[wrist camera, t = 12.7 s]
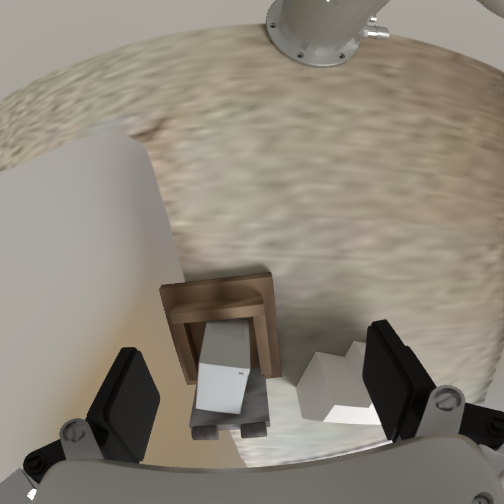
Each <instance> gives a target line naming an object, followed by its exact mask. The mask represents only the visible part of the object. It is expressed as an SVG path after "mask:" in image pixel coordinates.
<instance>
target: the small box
mask: <svg viewBox="0 0 504 504" xmlns="http://www.w3.org/2000/svg"><path fill="white" fill-rule="evenodd" d="M249 372H250V345H249V324H248V320H244V319H236V318H233V319H223V320H213V321H207V323H206V328H205V333H204V338H203V343H202V348H201V353H200V358H199V364H198V376H197V389H196V405H195V408H197V409H202V410H209V411H216V412H224V413H233V414H240V413H241V406H242V401H243V397H244V392H245V388H246V383H247V379H248V375H249Z"/></svg>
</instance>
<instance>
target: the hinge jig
mask: <svg viewBox="0 0 504 504" xmlns="http://www.w3.org/2000/svg"><path fill="white" fill-rule="evenodd" d="M159 291H160V295H161V299H162V303H163V307H164V310H165V314H166V318H167V321H168V325H169V328H170V332H171V335H172V339H173V342H174V345H175V348H176V352H177V355H178V358H179V361H180V364H181V367H182V371H183V374H184V377H185V380H186V382H187V385H192V384H197V376H198V364H199V358H200V353H201V348H202V343H203V338H204V333H205V328H206V323H207V321H213V320H223V319H233V318H236V319H244V320H248V324H249V345H250V372H249V375H248V379H247V383H246V388H245V392H244V397H243V401H242V406H241V413H240V414H233V413H224V412H216V411H209V410H202V409H197V408H195V405H196V391H195V397H194V402H193V407H192V413H191V418H190V424H189V426H190V428H191V433H192V438H193V440H218V438H219V437H218V436H219V435H218V434H219V433H218V430H237V429H240V430H241V437H242V438H254V437H265V436H267V429H266V427H270V418H269V409H268V399H267V389H266V379H268V378H276V377H282V374H281V362H280V351H279V341H278V330H277V320H276V310H275V300H274V290H273V280H272V274H271V272H270V273H262V274H254V275H245V276H237V277H229V278H220V279H211V280H203V281H194V282H185V283H175V284H166V285H162V286H161V287H160V289H159ZM196 389H197V386H196Z"/></svg>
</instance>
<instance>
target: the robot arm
mask: <svg viewBox="0 0 504 504" xmlns="http://www.w3.org/2000/svg"><path fill="white" fill-rule="evenodd" d="M389 1H390V0H276V1H275V2H274V3H273V4H272V5H271V7H270V9H269V10H268V13H267V17H266V30H267V33H268V36H269V38H270V40H271V41H272V43H273V44H274V46H275V47H276V48H277V49H278V50H279V51H280V52H281V53H283V54H284V55H285V56H286V57H288V58H290V59H292V60H293V61H295V62H298V63H300V64H303V65H307V66H311V67H320V68H324V67H333V66H336V65H339V64H342V63H344V62H346V61H347V60H348V59H349V58H351V57H352V56H353V54H354V53H355V52H356V50H357V49H358V47H359V43H360V39H367V37H371V38H375V39H382V40H387V39H388V38H389V31H388V29H387V28H385V27H379V26H368V25H367V22H375V21H376V13H378V12H379V11H380V10H381V9H382V8H383V7H384V6H385V5H386V4H387V3H388V2H389ZM477 1H478V2H479V3H481V4H482V5H483V6H484V7H486V8H487V9H489V10H490V11H491V12H493V13H494V14H496V15H498V16H500V17H502V18H504V0H477ZM271 27H274V28H271ZM297 56H300V57H301V58H299V57H297ZM339 56H340V57H341V58H342V59H341V58H340V57H339ZM362 378H363V382H364V384H365V387H366V389H367V391H368V394H369V396H370V398H371V401H372V403H373V405H374V408H375V410H376V413H377V415H378V417H379V420H380V422H381V425H382V427H383V430H384V432H385V435H386V437H387V439H388V440H392V442H393V443H390V444H387V445H383V446H380V447H376V448H372V449H368V450H364V451H360V452H355V453H351V454H346V455H342V456H337V457H332V458H326V459H321V460H315V461H309V462H302V463H294V464H286V465H277V466H266V467H252V468H226V469H207V468H205V469H203V468H179V467H165V466H154V465H145V464H139V462H140V461H142V460H143V459H144V455H145V451H146V448H147V444H148V441H149V437H150V434H151V430H152V427H153V423H154V420H155V416H156V413H157V409H158V406H159V403H160V395H159V392H158V390H157V388H156V386H155V384H154V381H153V379H152V377H151V375H150V372H149V370H148V367H147V365H146V363H145V360H144V358H143V356H142V354H141V352H140V351H138V350H137V349H136V348H135V347H123V348H122V349H121V350H120V352H119V354H118V356H117V357H116V359H115V361H114V363H113V365H112V367H111V368H110V371H109V372H108V374H107V376H106V378H105V380H104V382H103V384H102V386H101V387H100V390H99V392H98V393H97V395H96V398H95V399H94V401H93V403H92V405H91V407H90V409H89V411H88V413H87V417H86V419H85V420H84V419H80V418H75V419H72V420H69V421H68V422H66V423H65V424H64V425H63V426H62V428H61V429H60V433H59V435H60V439H59V440H57V441H55V442H52V443H50V444H48V445H46V446H44V447H42V448H40V449H37V450H35V451H33V452H31V453H29V454H28V455H27V456H26V458H25V460H24V463H23V467H24V469H23V470H21V469H20V468H19V469H17V470H16V471H15V472H14V473H13V474H11V475H10V476H9V477H8V478H7V479H5V480H4V481H3V482H1V483H0V504H504V412H502V411H498V410H493V409H489V408H485V407H481V406H477V405H473V404H469V403H465V397H464V394H463V393H462V391H461V390H460V389H458V388H457V387H454V386H451V385H443V386H439V387H436V385H435V384H434V382H433V381H432V379H431V378H430V376H429V375H428V373H427V372H426V370H425V369H424V367H423V366H422V364H421V363H420V361H419V360H418V358H417V357H416V355H415V354H414V352H413V351H412V350H411V348H410V347H409V346H405V345H404V344H403V342H402V341H401V339H400V338H399V336H398V335H397V334H396V332H395V331H394V329H393V328H392V327H391V325H390V324H389V322H388V321H387V320H386V319H384V320H379V321H374V322H372V324H371V326H368V329H367V339H366V348H365V356H364V364H363V371H362Z"/></svg>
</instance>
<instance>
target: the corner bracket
mask: <svg viewBox="0 0 504 504" xmlns="http://www.w3.org/2000/svg"><path fill="white" fill-rule="evenodd" d="M365 348H366V343H363V342H358V341H353V343H352V345H351V347H350V348H349V350H348V352H347V354H346V355H345V357H342V356H337V355H332V354H327V353H322V352H317V351H316V352H315V354H314V356H313V357H312V359H311V361H310V363H309V365H308V367H307V368H306V370H305V372H304V374H303V375H302V377H301V379H300V381H299V382H298V384H297V386H296V391H297V395H298V400H299V404H300V409H301V414H302V418H304V419H310V420H316V421H323V422H335V423H350V424H381V422H380V420H379V417H378V415H377V413H376V410H375V408H374V405H373V403H372V401H371V398H370V396H369V394H368V391H367V389H366V387H365V384H364V382H363V378H362V371H363V364H364V356H365Z"/></svg>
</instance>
